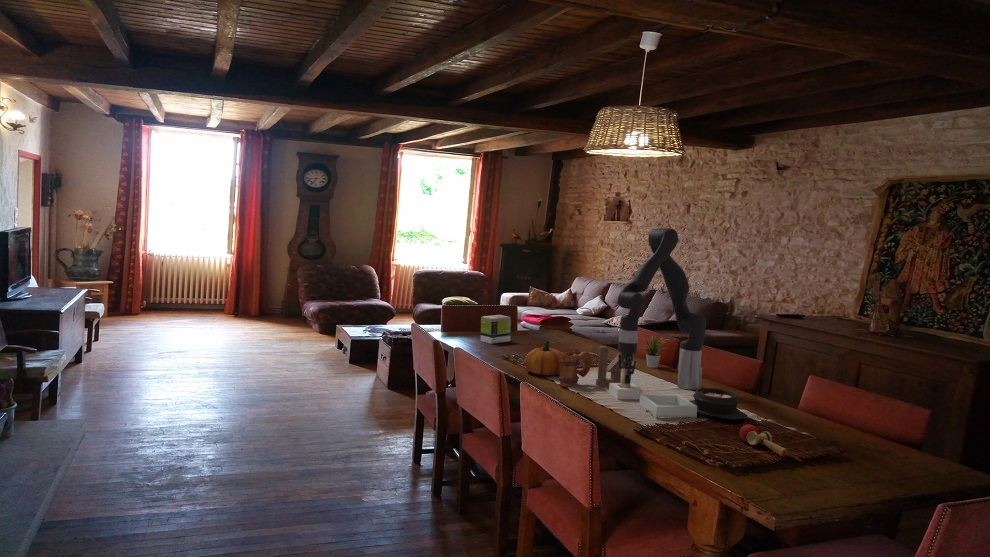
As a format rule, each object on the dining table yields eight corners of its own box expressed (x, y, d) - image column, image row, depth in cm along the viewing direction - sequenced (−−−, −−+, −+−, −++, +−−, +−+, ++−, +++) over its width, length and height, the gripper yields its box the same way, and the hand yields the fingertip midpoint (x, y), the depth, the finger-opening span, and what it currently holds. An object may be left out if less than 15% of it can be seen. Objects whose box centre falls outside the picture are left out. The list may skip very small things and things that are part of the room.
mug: (561, 389, 275) (563, 354, 273) (554, 384, 283) (556, 350, 281) (593, 388, 279) (595, 353, 277) (585, 383, 287) (587, 349, 285)
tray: (677, 405, 257) (678, 394, 256) (696, 418, 241) (697, 406, 241) (639, 405, 254) (640, 394, 254) (655, 418, 238) (656, 406, 238)
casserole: (673, 408, 254) (674, 387, 253) (706, 403, 263) (707, 382, 262) (724, 426, 232) (726, 404, 232) (758, 420, 242) (760, 398, 241)
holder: (631, 394, 270) (632, 383, 270) (640, 401, 261) (641, 389, 260) (608, 394, 269) (609, 383, 268) (617, 401, 259) (617, 389, 258)
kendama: (794, 460, 206) (751, 434, 222) (795, 442, 204) (752, 417, 220) (775, 466, 203) (733, 440, 219) (776, 449, 201) (734, 423, 217)
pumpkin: (520, 375, 296) (522, 343, 295) (528, 366, 315) (529, 336, 313) (562, 379, 292) (564, 346, 290) (567, 370, 310) (569, 339, 309)
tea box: (499, 338, 385) (500, 314, 383) (510, 341, 377) (511, 316, 376) (479, 341, 375) (480, 315, 374) (490, 344, 367) (491, 318, 366)
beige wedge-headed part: (621, 387, 281) (623, 347, 280) (599, 389, 278) (602, 347, 276) (616, 385, 285) (619, 345, 283) (595, 386, 281) (597, 346, 279)
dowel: (627, 394, 267) (629, 368, 266) (631, 397, 263) (632, 370, 262) (618, 394, 266) (619, 368, 265) (621, 397, 262) (623, 370, 261)
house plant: (675, 369, 321) (677, 337, 320) (651, 371, 316) (653, 338, 315) (657, 363, 335) (659, 332, 333) (635, 364, 329) (637, 333, 328)
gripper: (643, 344, 256) (640, 386, 258) (630, 337, 270) (627, 377, 272) (625, 344, 255) (622, 386, 256) (613, 337, 269) (610, 377, 270)
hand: (625, 381), depth 264 cm, fingers closed on dowel, 4 cm apart
